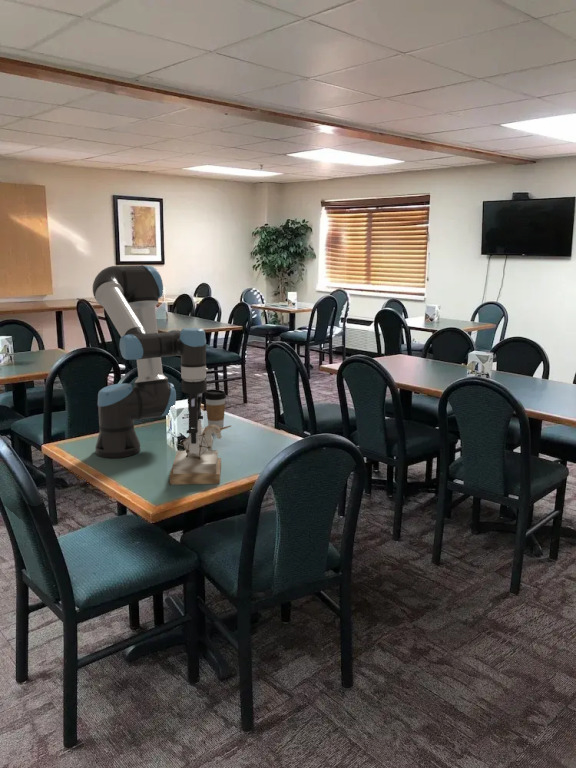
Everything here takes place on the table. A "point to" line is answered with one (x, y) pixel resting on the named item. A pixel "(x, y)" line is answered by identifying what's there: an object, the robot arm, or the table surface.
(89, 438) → the table surface
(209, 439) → the unicorn figurine
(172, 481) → the tower base
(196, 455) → the game die
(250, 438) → the table surface
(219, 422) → the coffee cup
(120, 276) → the robot arm
